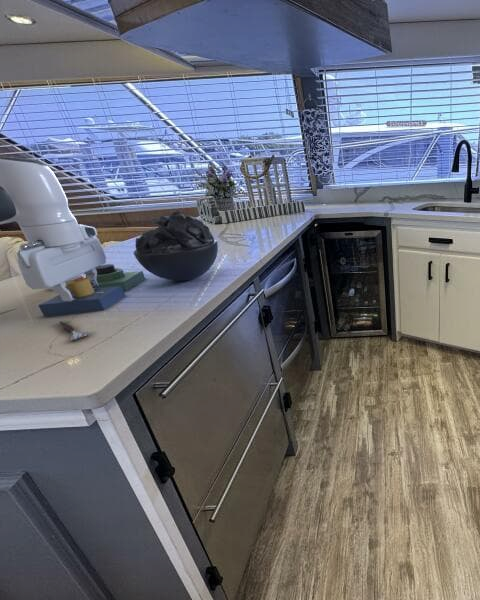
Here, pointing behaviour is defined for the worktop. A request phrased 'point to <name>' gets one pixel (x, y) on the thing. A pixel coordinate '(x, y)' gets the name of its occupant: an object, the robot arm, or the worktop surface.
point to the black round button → (105, 269)
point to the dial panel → (83, 302)
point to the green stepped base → (120, 279)
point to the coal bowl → (177, 248)
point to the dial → (80, 287)
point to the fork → (70, 329)
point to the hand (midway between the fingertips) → (82, 293)
